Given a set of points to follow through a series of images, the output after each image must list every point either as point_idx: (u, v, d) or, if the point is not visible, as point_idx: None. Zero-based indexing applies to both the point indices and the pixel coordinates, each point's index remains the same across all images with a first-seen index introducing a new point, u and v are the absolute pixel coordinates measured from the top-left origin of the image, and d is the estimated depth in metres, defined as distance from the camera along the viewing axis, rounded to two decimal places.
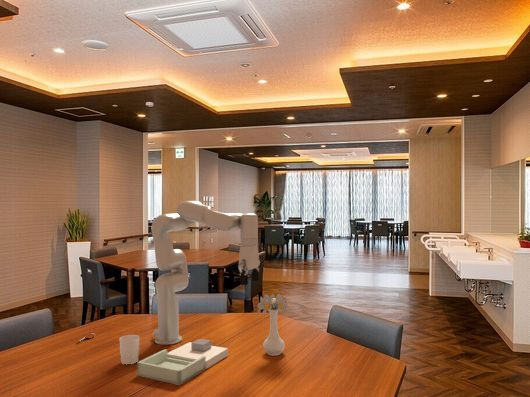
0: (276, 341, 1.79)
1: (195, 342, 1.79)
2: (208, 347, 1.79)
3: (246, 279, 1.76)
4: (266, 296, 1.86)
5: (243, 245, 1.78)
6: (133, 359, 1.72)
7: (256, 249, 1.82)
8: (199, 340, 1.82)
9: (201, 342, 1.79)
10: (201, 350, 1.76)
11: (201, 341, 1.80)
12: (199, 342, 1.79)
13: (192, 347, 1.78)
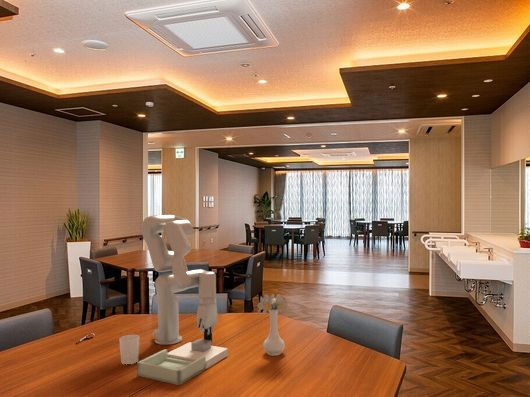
0: (276, 341, 1.79)
1: (195, 342, 1.79)
2: (208, 347, 1.79)
3: (209, 338, 1.83)
4: (266, 296, 1.86)
5: (201, 304, 1.82)
6: (133, 359, 1.72)
7: (214, 307, 1.85)
8: (199, 340, 1.82)
9: (201, 342, 1.79)
10: (201, 350, 1.76)
11: (201, 341, 1.80)
12: (199, 342, 1.79)
13: (192, 347, 1.78)
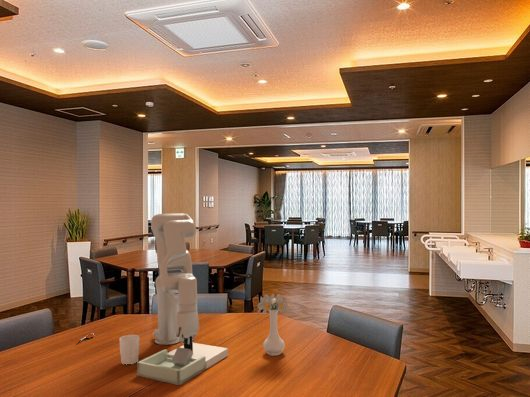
0: (276, 341, 1.79)
1: (175, 359, 1.66)
2: (190, 357, 1.67)
3: (189, 348, 1.71)
4: (266, 296, 1.86)
5: (180, 311, 1.69)
6: (133, 359, 1.72)
7: (195, 314, 1.73)
8: (178, 352, 1.68)
9: (180, 356, 1.66)
10: None
11: (180, 354, 1.66)
12: (179, 358, 1.65)
13: (174, 363, 1.67)
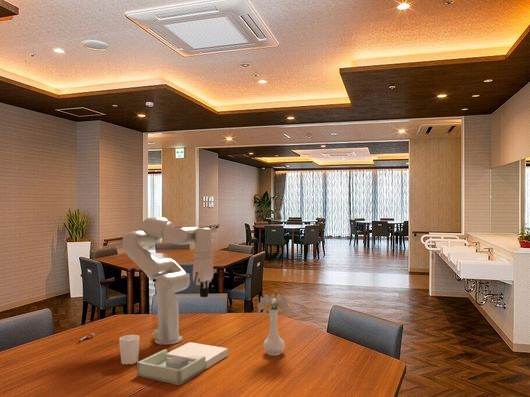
0: (276, 341, 1.79)
1: (170, 361, 1.63)
2: None
3: (205, 292, 1.88)
4: (266, 296, 1.86)
5: (197, 258, 1.87)
6: (133, 359, 1.72)
7: (210, 262, 1.90)
8: (174, 358, 1.66)
9: (176, 360, 1.64)
10: None
11: (176, 360, 1.65)
12: (175, 361, 1.63)
13: None
